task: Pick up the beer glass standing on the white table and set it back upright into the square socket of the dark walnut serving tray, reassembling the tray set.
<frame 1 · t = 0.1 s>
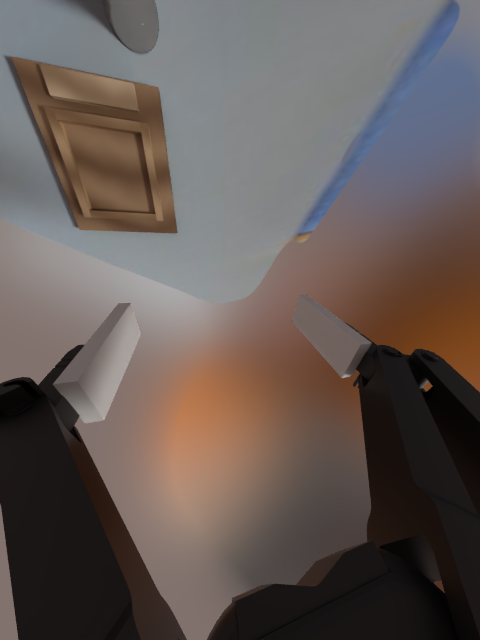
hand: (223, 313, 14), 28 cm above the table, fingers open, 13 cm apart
tray: (117, 168, 27), on the table
beer glass: (132, 13, 21), on the table
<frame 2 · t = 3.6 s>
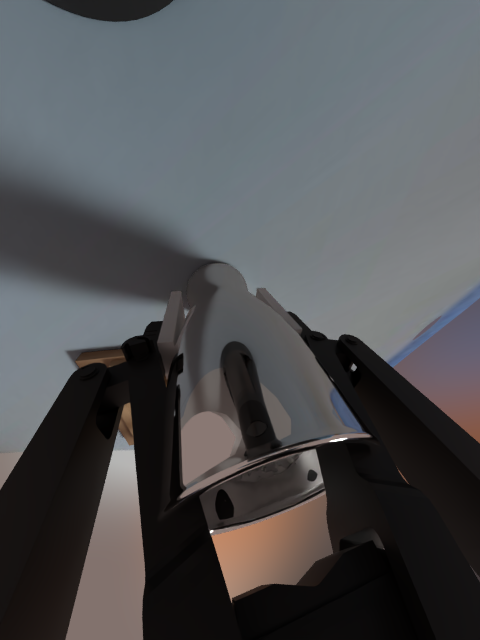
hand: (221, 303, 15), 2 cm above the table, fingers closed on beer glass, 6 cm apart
tray: (176, 393, 24), on the table
beer glass: (217, 292, 17), on the table, touching gripper
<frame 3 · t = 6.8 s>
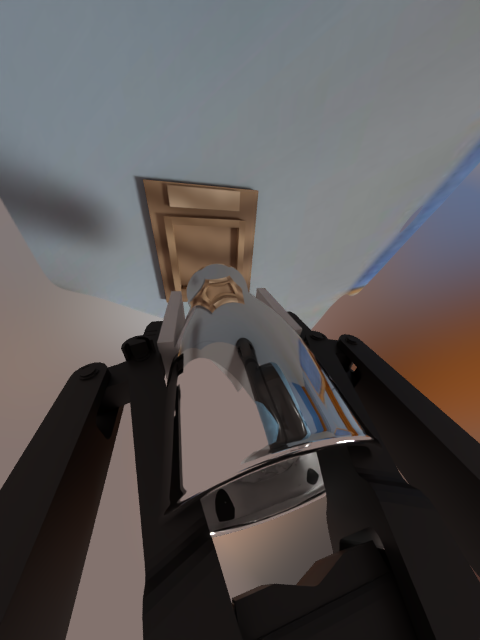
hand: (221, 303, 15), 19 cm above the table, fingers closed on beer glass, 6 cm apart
tray: (207, 251, 30), on the table
beer glass: (217, 292, 17), point 16 cm above the table, touching gripper
when the fingers open (4 cm above the table, at t = 9.8 s): beer glass stays where it is, resting on tray.
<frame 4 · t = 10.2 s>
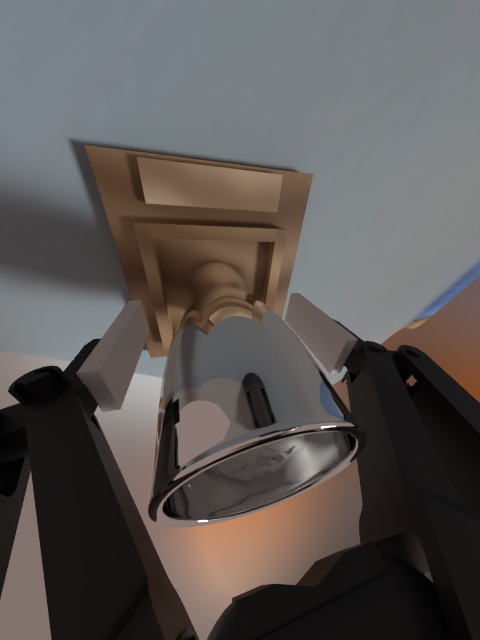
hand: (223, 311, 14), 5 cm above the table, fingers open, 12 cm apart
tray: (216, 278, 18), on the table
beer glass: (215, 290, 18), point 1 cm above the table, touching tray
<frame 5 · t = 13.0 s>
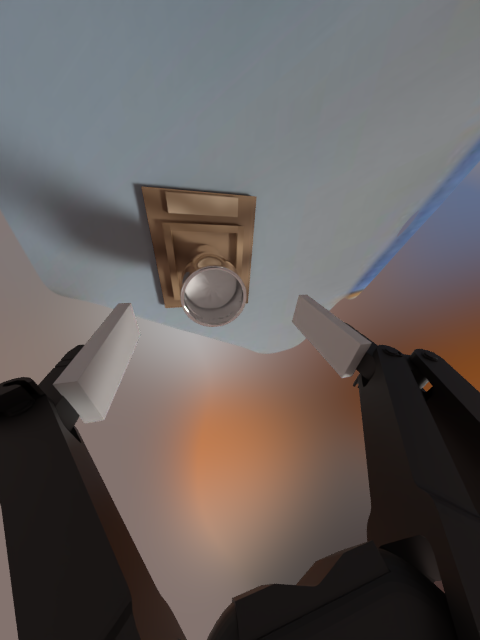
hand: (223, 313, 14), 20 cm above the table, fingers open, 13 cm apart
tray: (205, 256, 30), on the table
beer glass: (205, 263, 29), point 1 cm above the table, touching tray
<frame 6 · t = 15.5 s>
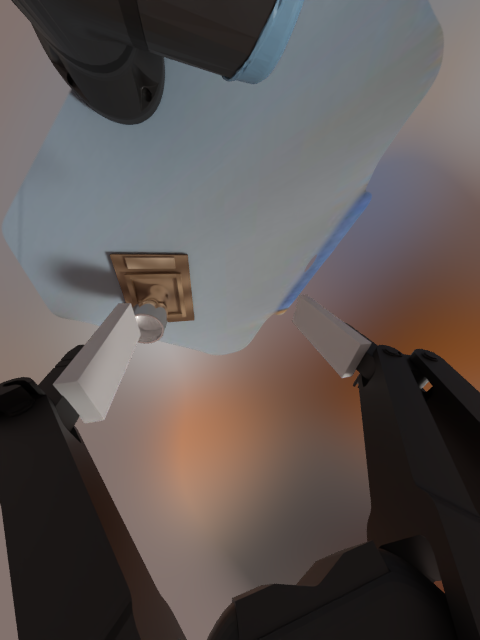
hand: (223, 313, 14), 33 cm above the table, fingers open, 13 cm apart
tray: (159, 290, 44), on the table
beer glass: (158, 295, 43), point 1 cm above the table, touching tray
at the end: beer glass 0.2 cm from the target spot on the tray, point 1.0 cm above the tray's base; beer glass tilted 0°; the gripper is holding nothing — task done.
